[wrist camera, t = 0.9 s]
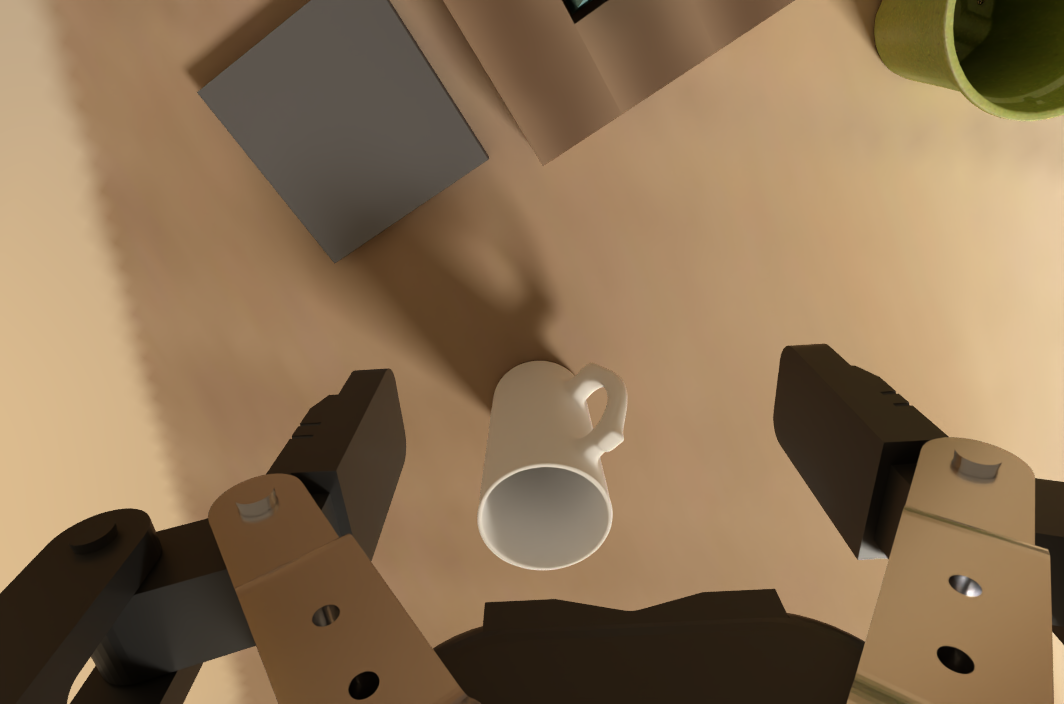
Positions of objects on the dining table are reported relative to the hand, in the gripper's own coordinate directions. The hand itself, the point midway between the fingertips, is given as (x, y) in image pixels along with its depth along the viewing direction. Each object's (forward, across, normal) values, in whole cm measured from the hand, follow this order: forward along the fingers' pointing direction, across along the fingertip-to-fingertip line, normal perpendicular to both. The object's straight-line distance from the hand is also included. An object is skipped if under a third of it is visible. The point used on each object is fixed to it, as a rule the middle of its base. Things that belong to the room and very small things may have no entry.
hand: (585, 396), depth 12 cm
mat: (+24, +11, -4) cm, 27 cm away
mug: (+24, 0, +13) cm, 28 cm away
